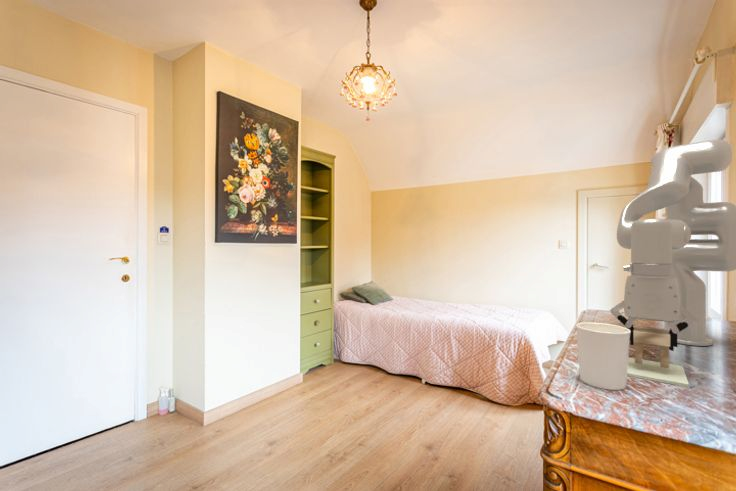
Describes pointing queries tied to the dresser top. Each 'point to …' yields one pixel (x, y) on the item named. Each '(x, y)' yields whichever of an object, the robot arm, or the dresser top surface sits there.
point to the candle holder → (603, 354)
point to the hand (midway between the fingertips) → (651, 345)
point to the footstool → (654, 338)
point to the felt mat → (657, 372)
